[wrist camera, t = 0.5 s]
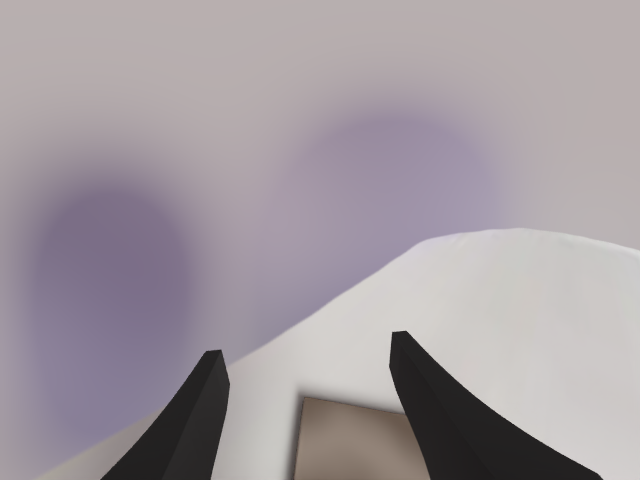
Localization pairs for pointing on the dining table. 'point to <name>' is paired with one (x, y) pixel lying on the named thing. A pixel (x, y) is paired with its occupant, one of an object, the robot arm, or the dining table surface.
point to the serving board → (356, 444)
